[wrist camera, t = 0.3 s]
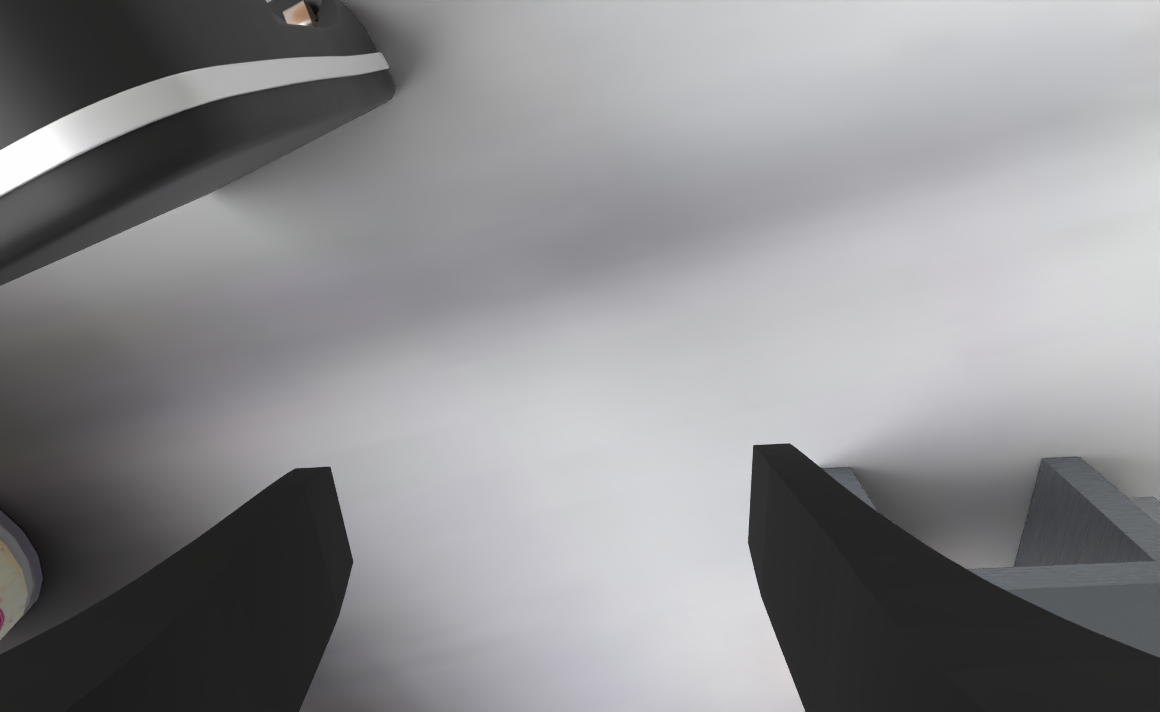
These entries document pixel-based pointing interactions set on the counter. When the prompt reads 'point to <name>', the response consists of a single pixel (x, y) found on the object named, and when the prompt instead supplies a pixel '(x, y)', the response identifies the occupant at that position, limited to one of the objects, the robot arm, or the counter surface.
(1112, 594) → the housing
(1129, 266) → the counter surface
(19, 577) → the aerosol can
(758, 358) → the counter surface
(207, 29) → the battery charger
